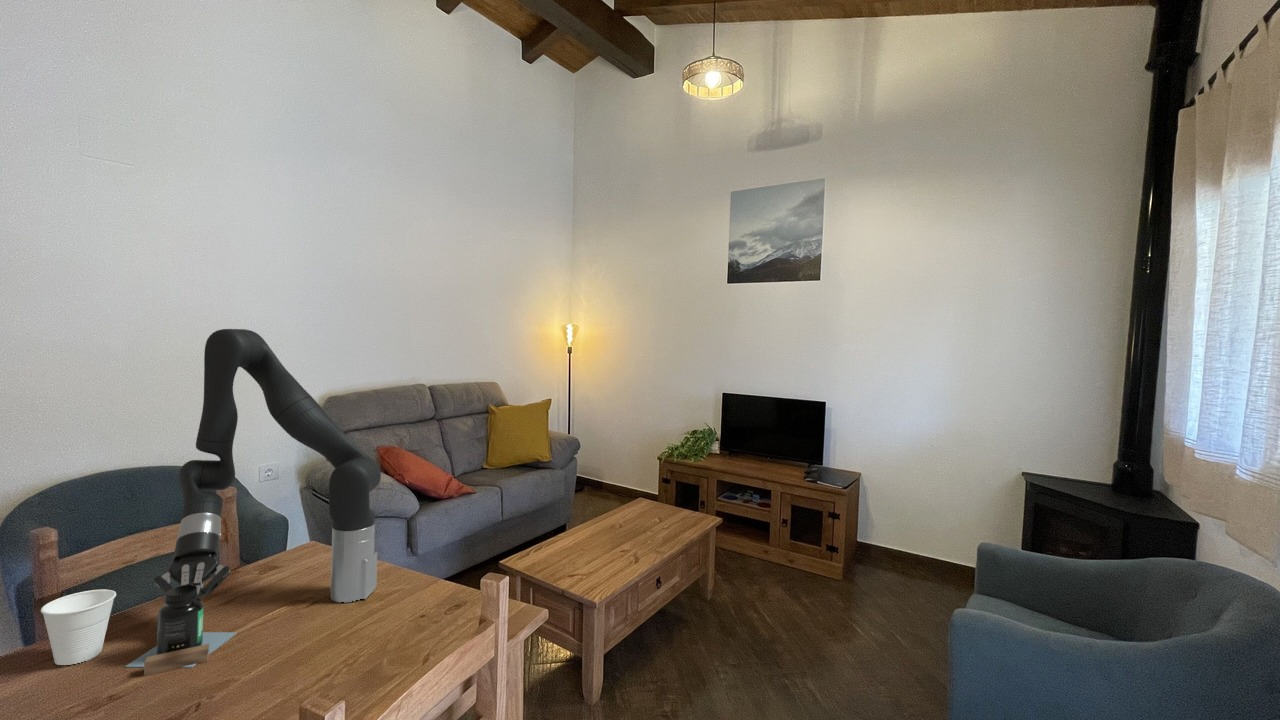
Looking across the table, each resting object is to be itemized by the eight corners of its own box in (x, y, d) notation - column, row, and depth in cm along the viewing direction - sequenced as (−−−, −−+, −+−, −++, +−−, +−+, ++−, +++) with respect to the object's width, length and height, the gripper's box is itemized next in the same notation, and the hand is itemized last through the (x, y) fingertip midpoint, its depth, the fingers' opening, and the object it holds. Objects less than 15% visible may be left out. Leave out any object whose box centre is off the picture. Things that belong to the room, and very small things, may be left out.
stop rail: (208, 656, 103) (209, 643, 103) (207, 661, 101) (207, 648, 101) (146, 670, 98) (146, 657, 98) (143, 676, 96) (144, 662, 96)
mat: (237, 633, 111) (237, 632, 111) (191, 667, 99) (192, 666, 99) (177, 632, 110) (177, 632, 110) (124, 667, 98) (124, 666, 98)
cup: (65, 677, 95) (66, 617, 95) (24, 668, 97) (25, 609, 97) (128, 647, 105) (130, 592, 104) (90, 640, 107) (91, 586, 106)
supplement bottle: (211, 644, 107) (212, 585, 106) (173, 663, 100) (175, 600, 100) (185, 638, 108) (187, 580, 108) (147, 656, 102) (148, 595, 101)
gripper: (156, 535, 112) (140, 618, 102) (235, 526, 119) (227, 603, 109) (161, 551, 116) (146, 632, 106) (236, 541, 123) (229, 617, 113)
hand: (187, 617), depth 108 cm, fingers closed
